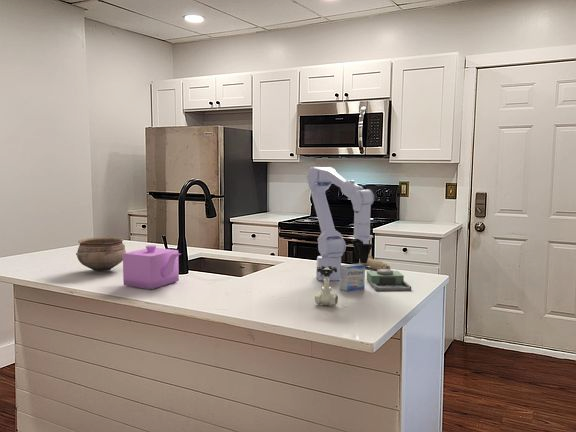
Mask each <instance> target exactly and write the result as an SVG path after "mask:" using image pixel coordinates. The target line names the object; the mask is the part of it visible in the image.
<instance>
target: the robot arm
mask: <svg viewBox="0 0 576 432" xmlns="http://www.w3.org/2000/svg"><path fill="white" fill-rule="evenodd" d="M306 179H307V182H308V183H307V184H308V187H309V190H310V194H311V198H312V199H311V200H312V201H313V205H314V206H313V207H314V209H315V213H316V216H317V217H316V218H317V221H318V223H319V229H320V232H321V233H320V235H319V236H318V238H317V239H316V240H317V244H318V245H317V248H318V249H317V250H318V252H319V254H320V255H318V256H317V257H316V268H317V267H321V266H325V267H328V266H331V267H336V268H337V272H335V271H333V273H332V274H330V276H329V277H328V279H329V280H330V281H340V265H342V256H344V253H345V251H346V249H347V243H346V241H345V240H344V238H343V235H342V233H340V232H339V231H338V230H336V228H335V224H334V221H333V217H332V213H331V210H330V205H329V203H328V200H327V196H326V191H327V190H329V188H330V187H331V186H332V184H333V185H334V186H336V187H338V188H340V192H341V194H343V195H344V196H346V197H347V198H348V199H350V201H351V204H352V209H353V211H354V212H353V213H354V214H353V215H354V216H353V218H354V219H353V236H352V238H353V239H351V240H350V241H351V244H352V247H353V249H354V256H355V259H356V260H360V262H361V263H367V260H368V256H369V255H370V252H371V249H372V247H373V245H374V244H373V243H370V239H372V238H374V235H372V234H371V209H372V207H371V206H372V205H373V204H374V201H375V194H374V193H373V191H372V189H370V188H369V189H368V188H367V189H365V188H364V187H363V186H362V185H359V184H357V183H356V182H355V180H354V179H346V178H344V177H343V176H342V175H340V173H338V172H337V169H335V168H334V167H332V166H326V167H325V166H322V167H321V166H311V167H309V168H308V171H307V174H306ZM315 273H316V274H315V275H316V278H317V280H318V281H324V279H325V276H324V275H323V274H321V273H320V272H317V270H316V272H315Z"/></svg>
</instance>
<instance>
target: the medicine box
mask: <svg viewBox="0 0 576 432" xmlns="http://www.w3.org/2000/svg"><path fill="white" fill-rule="evenodd" d="M365 272H366V267H365V265H363V264H360V263H351V264H348V263H347V264H341V265H340V280H339V289H341V290H343V291H346V292H349V291H356V290H357V291H358V290H364V289H365V283H366V282H365V278H366V277H365V276H366V275H365Z"/></svg>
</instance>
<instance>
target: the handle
mask: <svg viewBox="0 0 576 432" xmlns="http://www.w3.org/2000/svg"><path fill="white" fill-rule="evenodd" d="M358 260H359V261H358V264H363V265H365V268H368V267H370V268H372V269H375V271H377V270H379V269H389V270H391V265H389V264H387V263H385V262H383V261H381V260H377V259H374V257H373V256H372V255H371V254H369V256H368V260H367V263H361V262H360V259H358Z"/></svg>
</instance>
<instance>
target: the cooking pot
mask: <svg viewBox="0 0 576 432" xmlns="http://www.w3.org/2000/svg"><path fill="white" fill-rule="evenodd" d="M123 241H124V238H122V237H114V236H113V237H111V236H110V237H107V236H106V237H92V238H91V237H90V238H84V239H81V240H78V243H79V246H78V248H77V251H76V253H75V255H76V257H77V260H78V262H79V263H80V264H81V265H82V266H84V267H86V268H88V269H90V270H93V271H94V272H107V271H111V270H112V269H113V268H115V267H117V266H119V264H121V263H123V253H127V252H126V249H125V248H126V245H125V244H124V243H123Z"/></svg>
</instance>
